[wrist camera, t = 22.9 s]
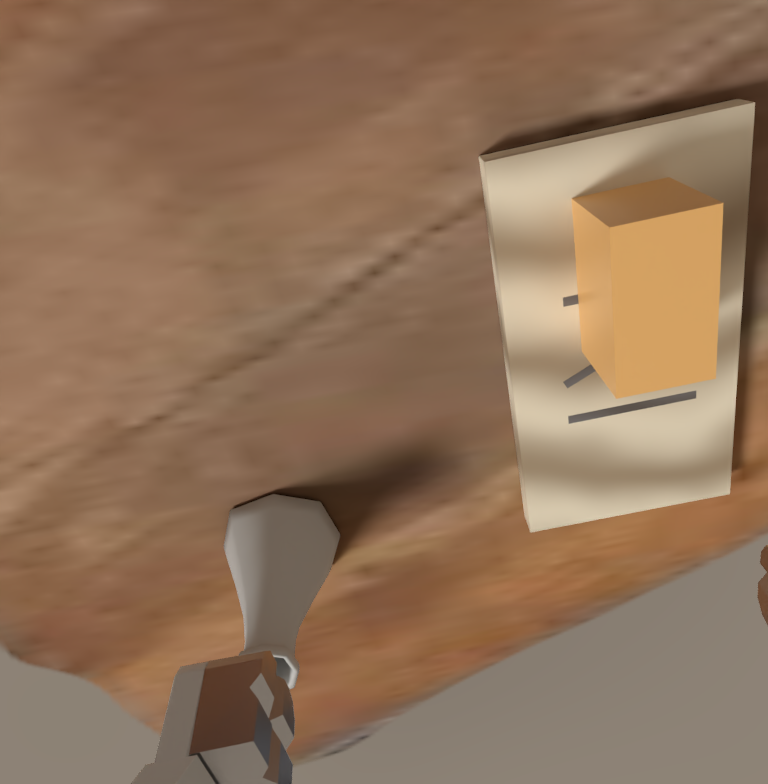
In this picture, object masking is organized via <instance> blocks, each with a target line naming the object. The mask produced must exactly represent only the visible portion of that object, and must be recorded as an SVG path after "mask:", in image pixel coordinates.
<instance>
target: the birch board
mask: <svg viewBox="0 0 768 784" xmlns="http://www.w3.org/2000/svg"><path fill="white" fill-rule="evenodd" d="M754 114H755V102H752V101H747V100H742V99H734V100H729V101H725V102H720V103H716V104H711V105H707V106H702V107H698V108H693V109H689V110H684V111H680V112H675V113H671V114H666V115H662V116H657V117H653V118H648V119H644V120H639V121H634V122H630V123H625V124H621V125H616V126H612V127H607V128H603V129H598V130H594V131H589V132H585V133H580V134H576V135H571V136H567V137H562V138H558V139H553V140H549V141H544V142H540V143H535V144H531V145H526V146H522V147H517V148H512V149H508V150H503V151H499V152H494V153H490V154H485V155H481V156H479V163H480V171H481V179H482V186H483V194H484V202H485V210H486V218H487V226H488V233H489V241H490V249H491V257H492V265H493V273H494V280H495V288H496V296H497V304H498V312H499V319H500V327H501V335H502V343H503V351H504V359H505V366H506V374H507V382H508V390H509V398H510V406H511V413H512V421H513V429H514V437H515V445H516V452H517V460H518V468H519V476H520V484H521V492H522V499H523V507H524V515H525V519H526V521H527V524H528V527H529V529H530V532H536V531H541V530H546V529H551V528H556V527H561V526H567V525H572V524H577V523H582V522H587V521H592V520H598V519H603V518H608V517H613V516H618V515H624V514H629V513H634V512H639V511H644V510H649V509H655V508H660V507H665V506H670V505H675V504H680V503H686V502H691V501H696V500H701V499H706V498H711V497H717V496H722V495H727V494H730V483H731V468H732V453H733V437H734V422H735V406H736V391H737V376H738V360H739V345H740V330H741V314H742V299H743V283H744V268H745V253H746V237H747V222H748V206H749V191H750V176H751V160H752V145H753V130H754ZM667 177H670V178H672V179H674V180H676V181H678V182H681V183H683V184H685V185H687V186H689V187H691V188H693V189H695V190H697V191H700V192H702V193H704V194H706V195H708V196H710V197H712V198H714V199H716V200H719V201H721V202H723V226H722V249H721V273H720V296H719V319H718V342H717V366H716V379H712V380H707V381H702V382H697V383H692V384H687V385H682V386H677V387H672V388H667V389H663V390H658V391H653V392H648V393H643V394H638V395H633V396H628V397H623V398H618V399H616V398H615V396H614V395H613V394H612V392H611V391H610V389H609V388H608V387H607V385H606V384H605V383H604V381H603V380H602V379H601V377H600V376H599V374H598V373H597V372H596V370H595V369H594V368H593V366H592V365H591V363H590V362H589V361H588V359H587V358H586V357H585V355H584V354H583V352H582V347H581V332H580V317H579V303H578V288H577V273H576V258H575V243H574V228H573V213H572V199H571V198H576V197H580V196H585V195H589V194H594V193H599V192H603V191H608V190H612V189H617V188H621V187H626V186H631V185H635V184H640V183H644V182H649V181H653V180H658V179H662V178H667Z"/></svg>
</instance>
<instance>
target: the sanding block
mask: <svg viewBox="0 0 768 784" xmlns="http://www.w3.org/2000/svg"><path fill="white" fill-rule="evenodd" d="M571 199H572V213H573V228H574V243H575V258H576V273H577V288H578V303H579V317H580V332H581V347H582V352H583V354H584V355H585V357H586V358H587V359H588V361H589V362H590V363H591V365H592V366H593V368H594V369H595V370H596V372H597V373H598V374H599V376H600V377H601V379H602V380H603V381H604V383H605V384H606V385H607V387H608V388H609V389H610V391H611V392H612V394H613V395H614V396H615V398H616V399H618V398H623V397H628V396H633V395H638V394H643V393H648V392H653V391H658V390H663V389H667V388H672V387H677V386H682V385H687V384H692V383H697V382H702V381H707V380H712V379H716V366H717V342H718V319H719V296H720V273H721V249H722V226H723V202H721V201H719V200H716V199H714V198H712V197H710V196H708V195H706V194H704V193H702V192H700V191H697V190H695V189H693V188H691V187H689V186H687V185H685V184H683V183H681V182H678V181H676V180H674V179H672V178H670V177H667V178H662V179H658V180H653V181H649V182H644V183H640V184H635V185H631V186H626V187H621V188H617V189H612V190H608V191H603V192H599V193H594V194H589V195H585V196H580V197H576V198H571Z"/></svg>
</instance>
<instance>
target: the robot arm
mask: <svg viewBox="0 0 768 784" xmlns="http://www.w3.org/2000/svg"><path fill="white" fill-rule="evenodd" d="M760 563H761V565H762V566H763V567H764V569H765V570H766V571H767V573H766V574H765V575H764V577H763V578H762V579H761V580H760V581H759V582H758V600H759V603H760V608H761V611H762V615H763V617H764V619H765V621H766V623H767V624H768V545H766V546H765V547H764V549H763V550H762V552H761V560H760ZM276 669H277V662H276V660H275V658H274V657H273V655H272V653H271V651H262V652H257V653H251V654H246V655H240V656H235V657H229V658H223V659H218V660H212V661H208V662H203V663H197V664H192V665H187V666H182V667H180V669H179V670H178V672H177V674H176V675H175V677H174V682H173V686H172V690H171V694H170V699H169V703H168V707H167V711H166V716H165V720H164V724H163V729H162V733H161V737H160V742H159V746H158V750H157V754H156V758H155V763H152V764H148V765H145V767H144V768H143V769H142V770H141V772H140V773H139V774H138V775H137V777H136V778H135V779H134V781H133V782H132V783H131V784H292V769H293V764H292V762H291V760H290V758H289V756H288V754H287V752H286V749H287V748H288V746H289V745H290V743H291V742H292V740H293V739H294V726H295V718H294V709H293V701H292V697H291V693H290V690H289V687H288V685H287V683H286V681H285V679H283V678H281V677H279V676H277V675H276Z"/></svg>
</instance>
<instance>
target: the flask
mask: <svg viewBox="0 0 768 784" xmlns="http://www.w3.org/2000/svg"><path fill="white" fill-rule="evenodd" d="M339 539H340V533H339V532H338V530H337V528H336V527H335V525H334V523H333V522H332V520H331V518H330V517H329V515H328V513H327V512H326V510H325V508H324V507H323V505H322V503H321V502H320V501H313V500H307V499H301V498H295V497H289V496H282V495H276V494H271V495H269V496H266V497H264V498H261V499H258V500H256V501H253V502H250V503H248V504H245V505H243V506H240V507H237V508H235V509H232V510H230V513H229V519H228V524H227V530H226V536H225V542H224V549H225V553H226V557H227V560H228V563H229V566H230V569H231V573H232V576H233V579H234V582H235V586H236V589H237V593H238V597H239V601H240V605H241V609H242V613H243V617H244V633H245V647H244V651H241V652H240V654H239V656H240V655H246V654H251V653H257V652H262V651H271V653H272V655H273V657H274V658H275V660H276V662H277V669H276V675H277V676H279V677H281V678H283V679H285V681H286V683H287V685H288V687H289V689H292V688H294V687H295V684H296V680H297V676H298V673H299V663H298V661H297V660H296V659H295V644H296V638H297V634H298V631H299V627H300V625H301V623H302V621H303V619H304V617H305V616H306V614H307V612H308V610H309V608H310V606H311V604H312V602H313V600H314V598H315V596H316V595H317V593H318V591H319V590H320V588H321V586H322V585H323V583H324V581H325V579H326V578H327V576H328V574H329V572H330V570H331V567H332V564H333V560H334V557H335V553H336V550H337V546H338V542H339Z"/></svg>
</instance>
